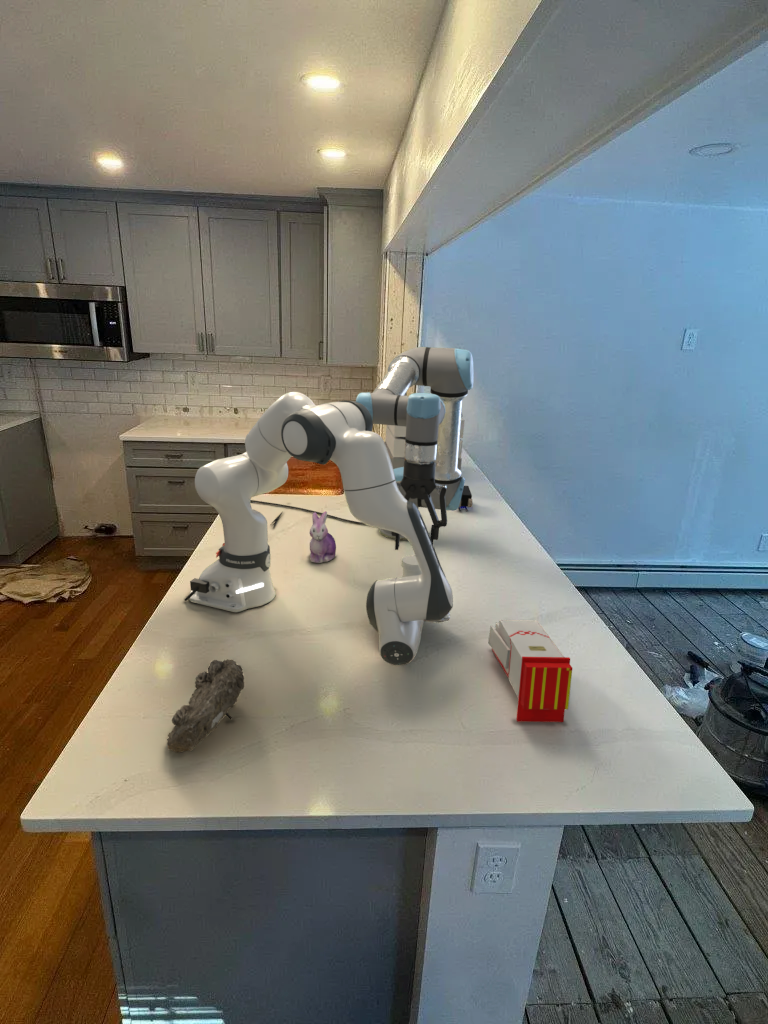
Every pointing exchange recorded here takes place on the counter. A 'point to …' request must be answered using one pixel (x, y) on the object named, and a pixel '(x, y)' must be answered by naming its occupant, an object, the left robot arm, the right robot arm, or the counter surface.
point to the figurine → (321, 540)
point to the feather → (276, 520)
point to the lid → (410, 563)
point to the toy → (533, 669)
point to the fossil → (206, 705)
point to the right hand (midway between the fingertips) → (414, 549)
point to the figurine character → (465, 499)
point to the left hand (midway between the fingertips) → (411, 590)
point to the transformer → (397, 444)
